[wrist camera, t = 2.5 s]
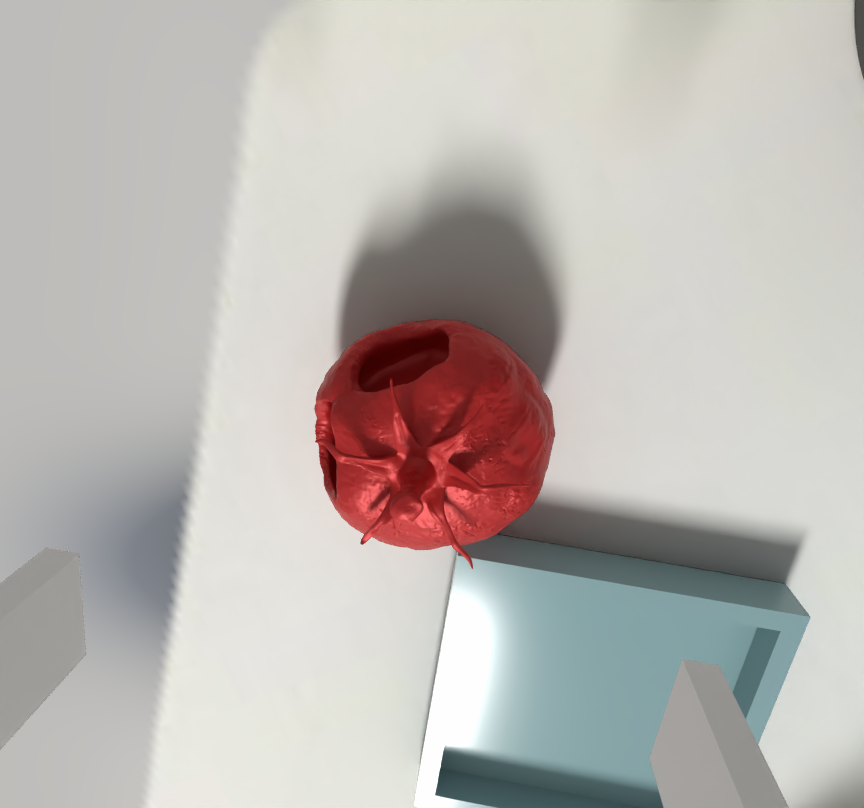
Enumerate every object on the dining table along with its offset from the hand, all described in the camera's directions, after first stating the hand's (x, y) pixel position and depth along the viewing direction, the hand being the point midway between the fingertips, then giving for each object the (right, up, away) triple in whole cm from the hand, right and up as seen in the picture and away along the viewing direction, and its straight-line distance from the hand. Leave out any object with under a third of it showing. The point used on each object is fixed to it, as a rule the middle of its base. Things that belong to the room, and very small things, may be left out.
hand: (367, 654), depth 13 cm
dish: (+10, -10, +19) cm, 24 cm away
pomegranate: (+2, +5, +16) cm, 17 cm away
